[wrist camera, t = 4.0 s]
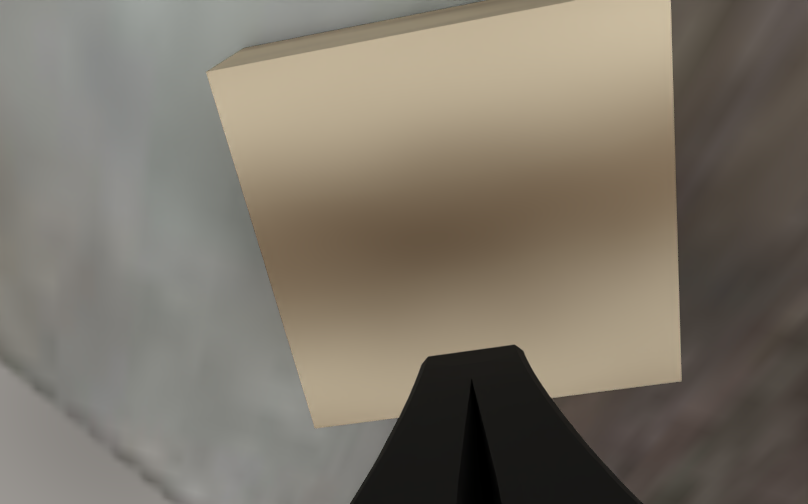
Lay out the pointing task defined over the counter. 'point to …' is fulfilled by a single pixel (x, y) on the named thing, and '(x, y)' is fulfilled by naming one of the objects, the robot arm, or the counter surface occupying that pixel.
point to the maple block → (465, 195)
